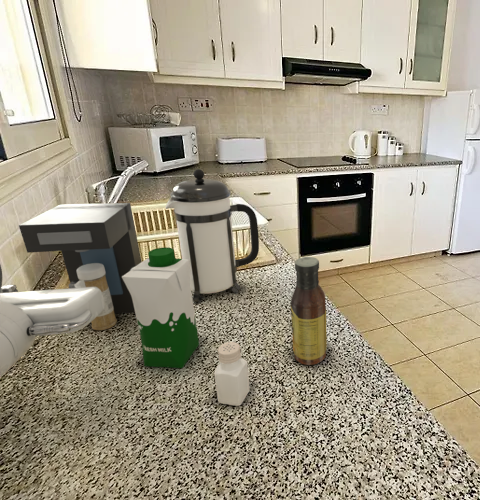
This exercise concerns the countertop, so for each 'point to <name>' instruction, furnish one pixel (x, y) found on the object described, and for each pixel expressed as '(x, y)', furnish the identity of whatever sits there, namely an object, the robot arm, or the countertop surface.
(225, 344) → the salt shaker
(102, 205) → the coffee maker
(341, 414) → the countertop surface
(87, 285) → the sprinkles bottle
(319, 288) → the sauce bottle
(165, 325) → the milk carton
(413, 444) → the countertop surface
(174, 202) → the coffee press
